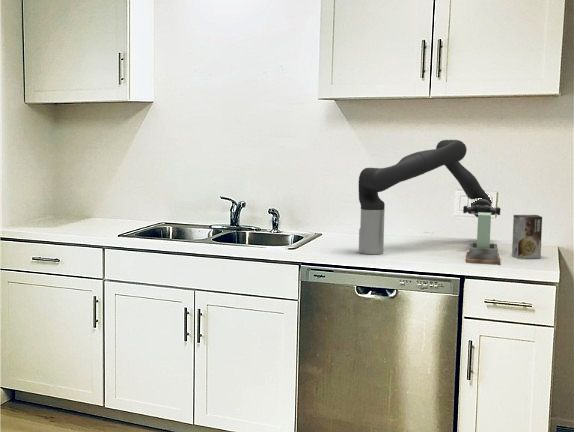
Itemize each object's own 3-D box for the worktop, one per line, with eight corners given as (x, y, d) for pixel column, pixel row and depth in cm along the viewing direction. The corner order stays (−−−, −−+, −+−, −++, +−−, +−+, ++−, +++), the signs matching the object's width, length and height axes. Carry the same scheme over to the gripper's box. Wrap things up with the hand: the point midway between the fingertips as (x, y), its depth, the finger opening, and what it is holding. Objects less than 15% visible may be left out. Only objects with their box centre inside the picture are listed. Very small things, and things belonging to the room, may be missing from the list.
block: (476, 257, 250) (478, 214, 248) (476, 253, 259) (478, 212, 257) (489, 258, 249) (491, 215, 247) (488, 254, 257) (490, 212, 256)
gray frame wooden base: (465, 262, 247) (466, 248, 246) (466, 254, 264) (467, 241, 263) (500, 264, 244) (500, 250, 243) (498, 256, 261) (499, 243, 260)
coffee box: (534, 255, 263) (536, 214, 261) (540, 258, 257) (543, 216, 255) (511, 255, 263) (513, 214, 261) (517, 258, 257) (519, 216, 255)
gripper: (464, 198, 282) (463, 201, 266) (500, 200, 278) (501, 203, 262) (463, 216, 283) (462, 220, 267) (499, 218, 279) (500, 222, 263)
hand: (481, 211), depth 265 cm, fingers open, 8 cm apart
